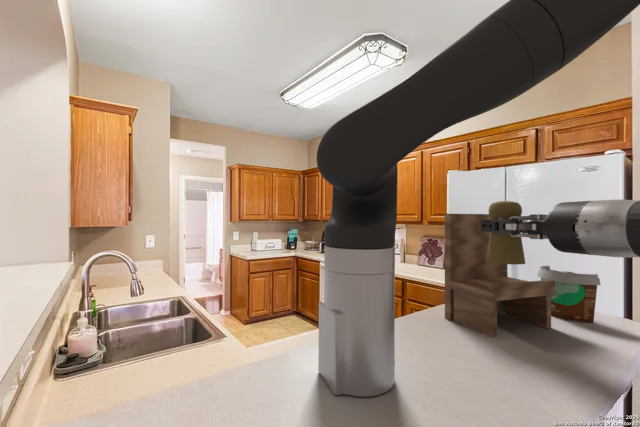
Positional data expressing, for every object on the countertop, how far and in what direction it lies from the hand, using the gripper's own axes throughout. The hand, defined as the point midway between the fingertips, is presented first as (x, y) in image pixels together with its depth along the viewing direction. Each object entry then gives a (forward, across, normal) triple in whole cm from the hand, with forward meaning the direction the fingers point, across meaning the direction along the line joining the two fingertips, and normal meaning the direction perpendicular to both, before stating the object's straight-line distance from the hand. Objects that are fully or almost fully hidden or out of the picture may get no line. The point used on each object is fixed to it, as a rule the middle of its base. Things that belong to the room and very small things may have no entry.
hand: (491, 225), depth 57 cm
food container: (+2, -21, +20) cm, 29 cm away
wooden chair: (+2, -4, +20) cm, 20 cm away
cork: (-3, 0, +7) cm, 7 cm away
